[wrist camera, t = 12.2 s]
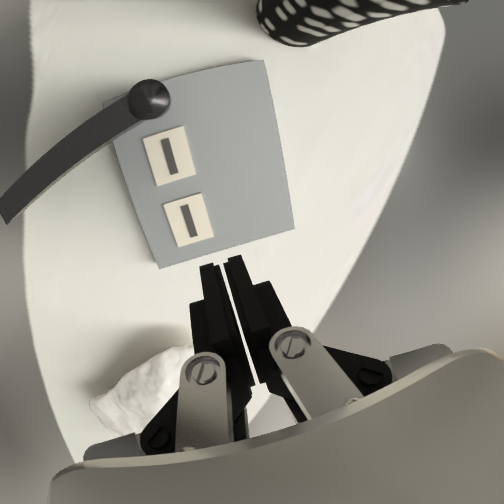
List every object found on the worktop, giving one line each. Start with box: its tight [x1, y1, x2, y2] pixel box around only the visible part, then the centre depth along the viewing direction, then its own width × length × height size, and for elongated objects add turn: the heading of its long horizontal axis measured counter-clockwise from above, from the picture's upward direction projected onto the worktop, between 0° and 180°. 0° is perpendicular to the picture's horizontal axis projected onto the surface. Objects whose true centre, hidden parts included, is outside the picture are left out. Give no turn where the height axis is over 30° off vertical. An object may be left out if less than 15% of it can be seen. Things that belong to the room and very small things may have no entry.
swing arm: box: [0, 79, 171, 224], centre depth 19 cm, size 19×3×4 cm, turn 113°
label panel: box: [102, 60, 295, 269], centre depth 26 cm, size 19×16×3 cm
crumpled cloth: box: [89, 344, 194, 436], centre depth 38 cm, size 24×35×9 cm
